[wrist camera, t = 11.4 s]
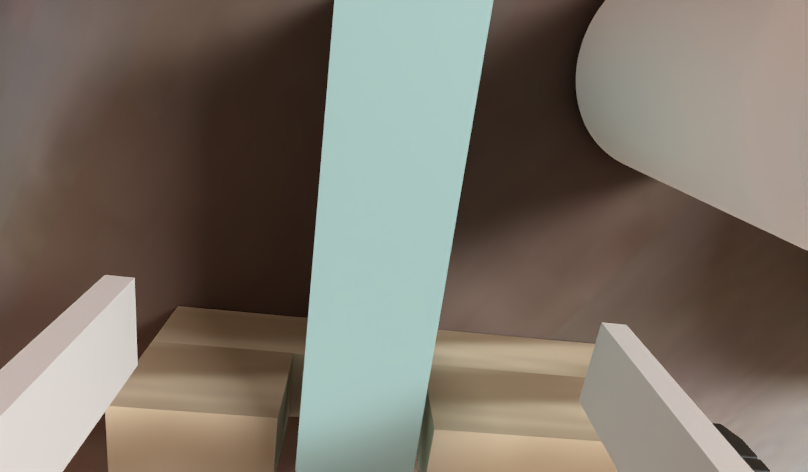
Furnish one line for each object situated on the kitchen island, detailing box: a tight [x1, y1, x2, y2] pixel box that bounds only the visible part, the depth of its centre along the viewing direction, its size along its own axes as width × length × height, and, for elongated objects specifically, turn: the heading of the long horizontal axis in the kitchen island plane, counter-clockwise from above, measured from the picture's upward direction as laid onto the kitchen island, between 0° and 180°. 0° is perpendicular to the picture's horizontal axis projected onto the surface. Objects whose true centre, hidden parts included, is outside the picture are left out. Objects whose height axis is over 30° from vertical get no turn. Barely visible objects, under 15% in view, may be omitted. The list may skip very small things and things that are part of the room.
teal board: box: [295, 0, 493, 472], centre depth 19 cm, size 20×4×9 cm, turn 173°
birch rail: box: [105, 306, 618, 472], centre depth 22 cm, size 3×20×7 cm, turn 83°
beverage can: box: [576, 0, 808, 251], centre depth 16 cm, size 8×8×12 cm
